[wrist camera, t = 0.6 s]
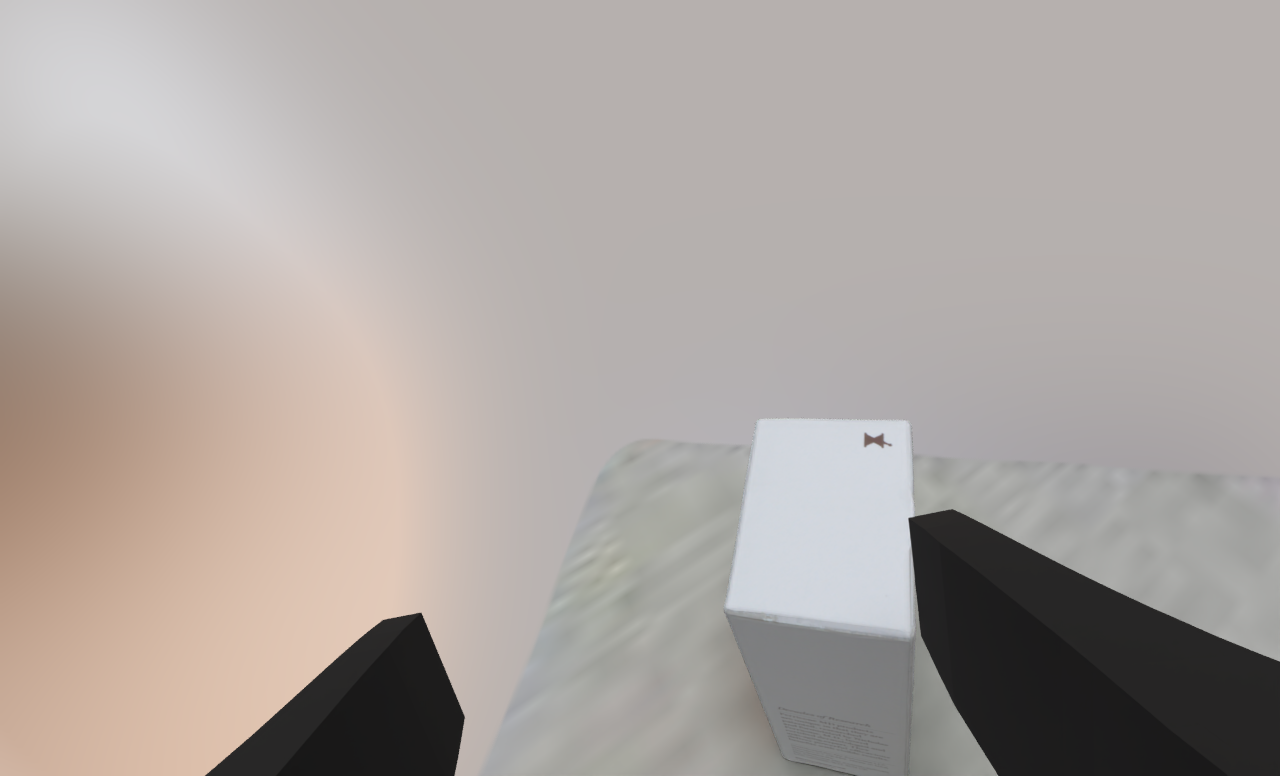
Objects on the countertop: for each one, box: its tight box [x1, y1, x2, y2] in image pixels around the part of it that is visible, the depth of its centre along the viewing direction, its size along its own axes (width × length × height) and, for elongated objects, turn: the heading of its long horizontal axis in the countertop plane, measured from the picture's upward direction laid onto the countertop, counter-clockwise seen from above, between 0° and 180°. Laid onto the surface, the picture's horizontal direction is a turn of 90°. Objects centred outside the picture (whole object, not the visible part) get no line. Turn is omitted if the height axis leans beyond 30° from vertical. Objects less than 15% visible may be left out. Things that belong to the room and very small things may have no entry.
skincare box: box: [724, 418, 916, 776], centre depth 19 cm, size 6×4×12 cm
